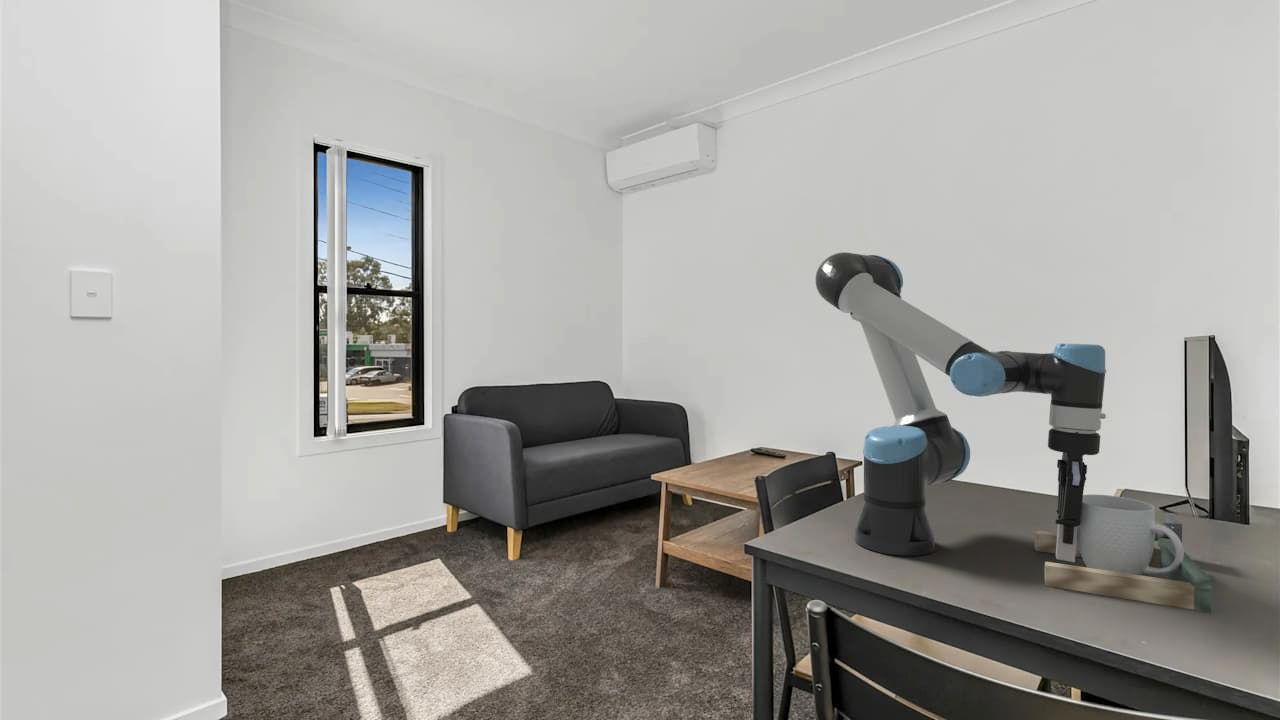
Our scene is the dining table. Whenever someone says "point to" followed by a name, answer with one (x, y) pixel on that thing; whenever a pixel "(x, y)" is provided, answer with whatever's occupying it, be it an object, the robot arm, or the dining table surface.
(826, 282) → the robot arm
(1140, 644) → the dining table surface
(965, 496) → the dining table surface
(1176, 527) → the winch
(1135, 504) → the mug
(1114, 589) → the bay
